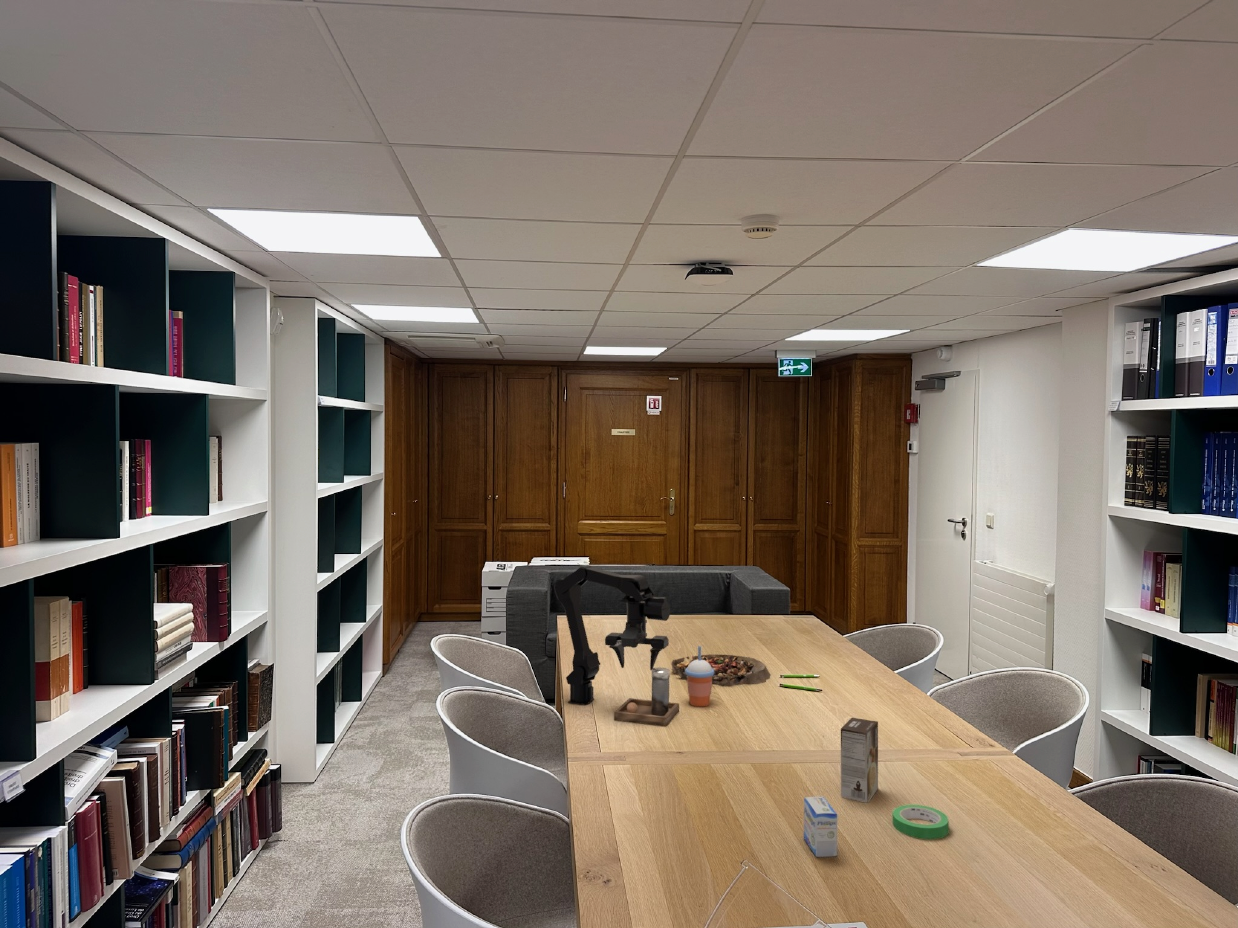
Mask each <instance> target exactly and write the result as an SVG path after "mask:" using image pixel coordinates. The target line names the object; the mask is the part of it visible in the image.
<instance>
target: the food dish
mask: <svg viewBox="0 0 1238 928" xmlns="http://www.w3.org/2000/svg"><path fill="white" fill-rule="evenodd" d="M685 658H686V659H687V660H690V656H686V657H681V658H676V659H673V660H672V661H671V671H672V673H673V674H675V675H676V676H678V677H679V679H680V680H684V681H687V679H688V678H687V675H686V674H685V670H686V668H688V665H689V664H690V663H691V662H692V661H694V660H698V655H692V659H691V660H690V661H688V662H686V663H683V662H685ZM701 660H705V661H707V662H708V663H709V664H710V665H711V667H712V669H713V670H714V675H713V676H712V685H714V686H720V687H734V686H741V685H742V686H743V685H759V684H764V683H766V682H767V680H770V678H771V675H772V674H771V673H770V672H769V670H768V668H767V666H766V664H765V663H764V662H762V661H761V660H760V659H759V660H758V659H755V658H753V657H750V656H742V655H734V654H718V653H717V654H713V653H711V654H701Z"/></svg>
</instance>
